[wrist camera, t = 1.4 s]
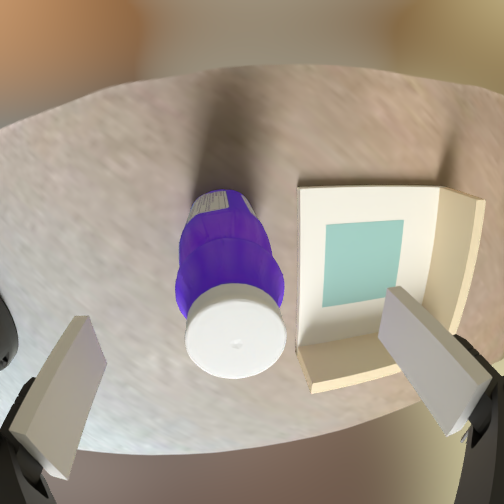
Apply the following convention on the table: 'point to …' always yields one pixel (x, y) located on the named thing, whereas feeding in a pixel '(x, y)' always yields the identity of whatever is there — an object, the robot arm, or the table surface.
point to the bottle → (229, 288)
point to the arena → (376, 270)
